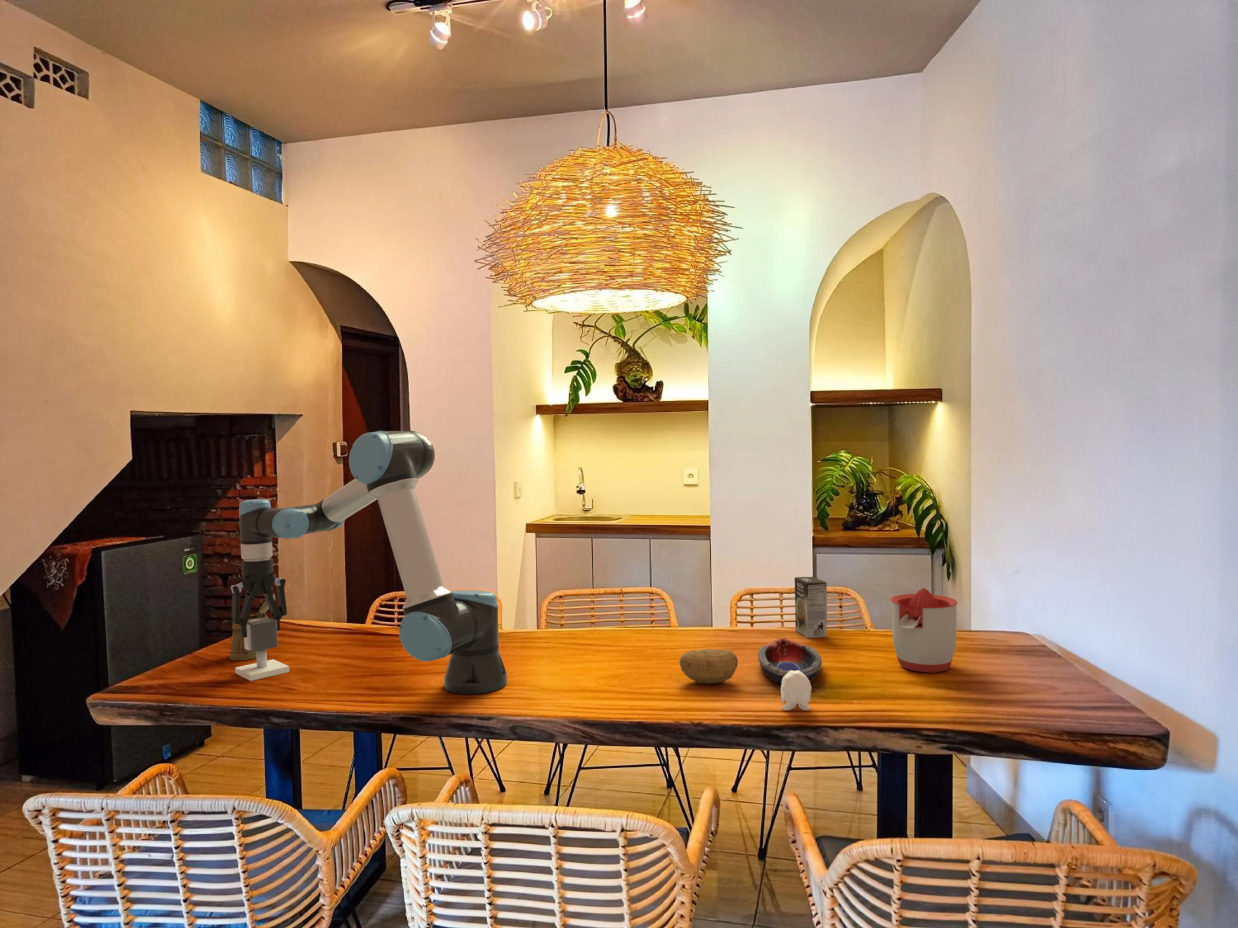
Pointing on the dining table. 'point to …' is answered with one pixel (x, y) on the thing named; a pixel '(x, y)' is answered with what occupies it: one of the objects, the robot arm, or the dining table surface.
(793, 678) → the penguin figurine
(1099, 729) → the dining table surface
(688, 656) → the potato
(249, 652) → the wooden mug
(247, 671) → the white peg base
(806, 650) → the dish
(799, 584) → the coffee box
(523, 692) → the dining table surface
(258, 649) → the grey rectangular block
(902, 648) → the citrus juicer
